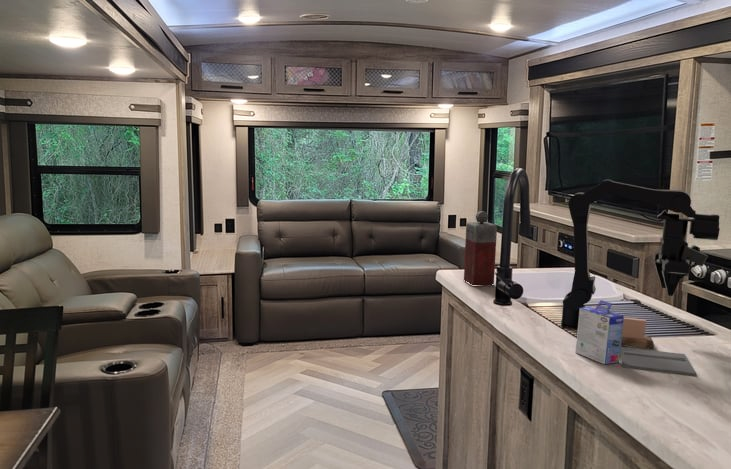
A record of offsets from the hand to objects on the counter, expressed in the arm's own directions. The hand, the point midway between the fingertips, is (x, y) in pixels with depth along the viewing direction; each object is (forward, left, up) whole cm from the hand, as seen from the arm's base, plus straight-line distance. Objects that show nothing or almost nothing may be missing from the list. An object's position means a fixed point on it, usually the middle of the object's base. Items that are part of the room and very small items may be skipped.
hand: (667, 291), depth 165 cm
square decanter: (-58, +49, -14) cm, 77 cm away
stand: (-10, -8, -14) cm, 19 cm away
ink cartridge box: (-18, -23, -14) cm, 33 cm away
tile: (-10, -8, -14) cm, 19 cm away
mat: (-5, -21, -14) cm, 25 cm away
